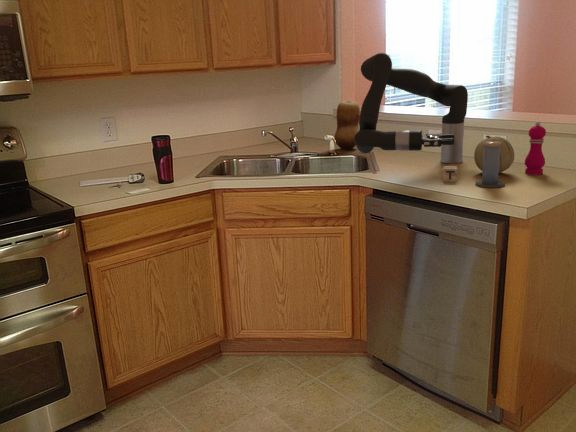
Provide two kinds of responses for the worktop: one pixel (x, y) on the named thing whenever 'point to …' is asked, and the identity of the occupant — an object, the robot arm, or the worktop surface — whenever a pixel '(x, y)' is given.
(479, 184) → the coaster
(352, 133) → the butternut squash
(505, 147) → the cantaloupe
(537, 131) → the pepper mill
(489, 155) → the canister
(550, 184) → the worktop surface
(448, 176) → the t block
